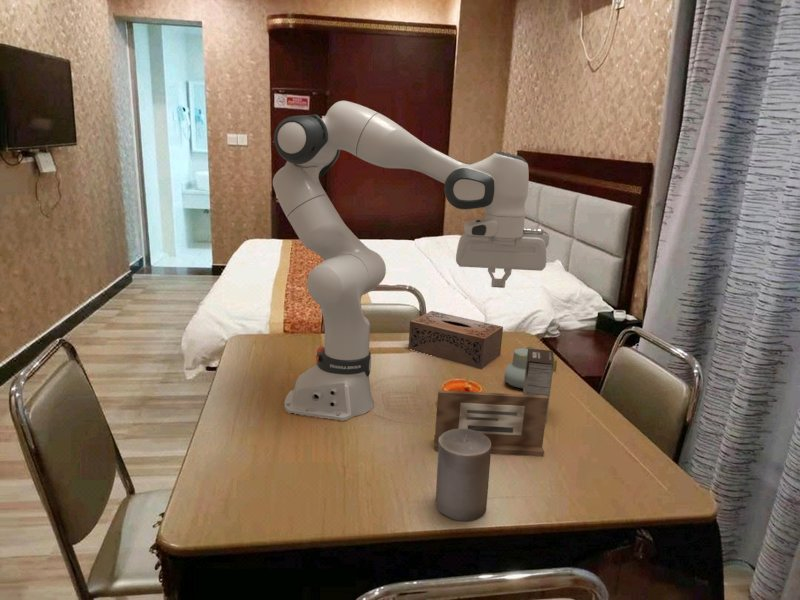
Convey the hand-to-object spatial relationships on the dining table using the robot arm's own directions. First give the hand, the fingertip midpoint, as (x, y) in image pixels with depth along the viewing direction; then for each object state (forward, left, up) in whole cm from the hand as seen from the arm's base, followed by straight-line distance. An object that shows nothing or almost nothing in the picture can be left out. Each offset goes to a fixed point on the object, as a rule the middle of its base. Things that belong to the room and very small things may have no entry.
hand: (497, 287), depth 134 cm
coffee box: (+13, +5, -34) cm, 37 cm away
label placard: (-1, -13, -34) cm, 37 cm away
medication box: (+22, +39, -34) cm, 56 cm away
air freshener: (+13, +23, -34) cm, 43 cm away
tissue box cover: (-4, +45, -35) cm, 57 cm away
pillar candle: (-9, -35, -34) cm, 50 cm away
